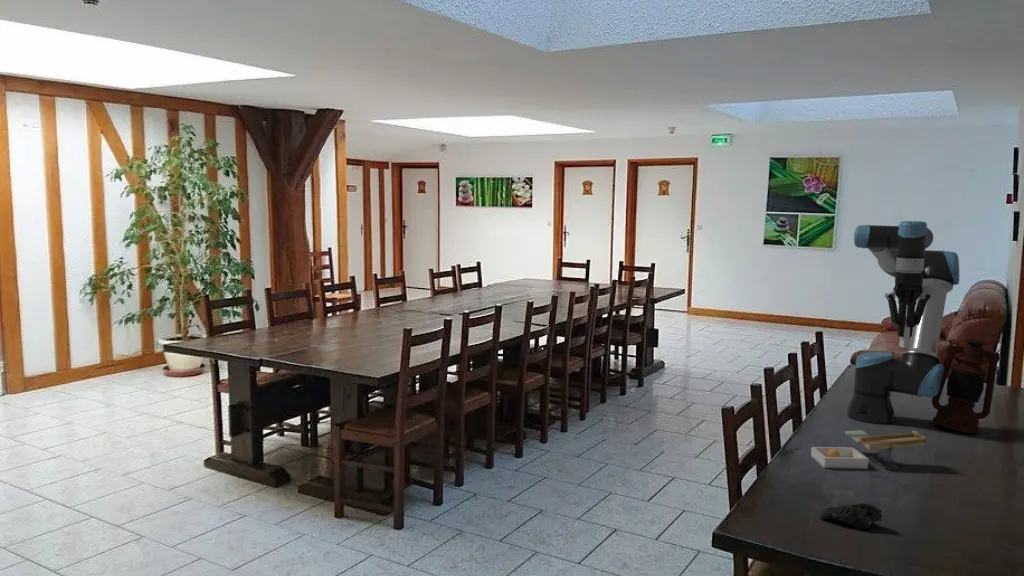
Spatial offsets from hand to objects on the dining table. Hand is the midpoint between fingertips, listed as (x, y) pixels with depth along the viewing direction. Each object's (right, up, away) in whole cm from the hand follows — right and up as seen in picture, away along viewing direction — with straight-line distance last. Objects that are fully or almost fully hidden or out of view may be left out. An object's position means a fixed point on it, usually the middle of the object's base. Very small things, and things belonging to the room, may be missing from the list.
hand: (903, 346), depth 224 cm
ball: (-28, -30, -14) cm, 44 cm away
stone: (-42, -38, -53) cm, 77 cm away
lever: (-11, -27, -10) cm, 31 cm away
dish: (-26, -33, -13) cm, 44 cm away
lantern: (+28, -29, +20) cm, 45 cm away
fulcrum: (-13, -33, -14) cm, 38 cm away
